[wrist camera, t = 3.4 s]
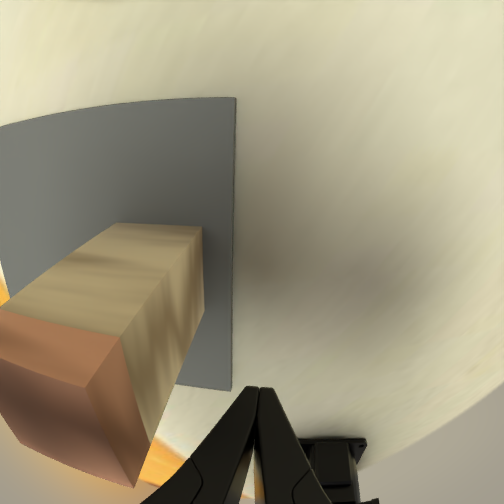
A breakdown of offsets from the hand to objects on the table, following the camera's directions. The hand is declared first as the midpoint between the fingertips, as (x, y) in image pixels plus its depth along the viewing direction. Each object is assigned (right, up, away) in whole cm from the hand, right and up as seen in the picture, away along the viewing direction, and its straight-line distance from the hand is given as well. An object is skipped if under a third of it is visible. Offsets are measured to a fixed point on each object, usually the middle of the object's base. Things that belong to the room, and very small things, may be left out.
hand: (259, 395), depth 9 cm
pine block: (-5, +4, +8) cm, 11 cm away
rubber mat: (-10, +4, +9) cm, 14 cm away
